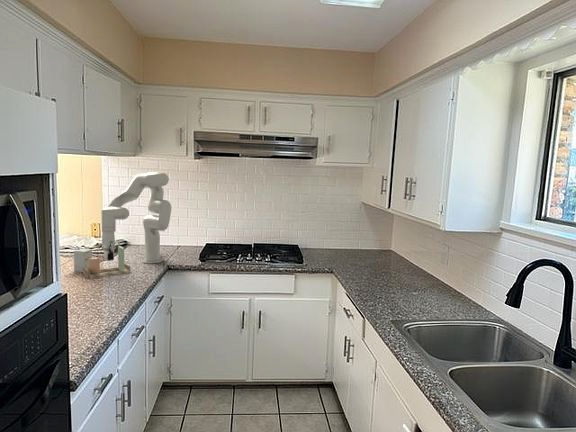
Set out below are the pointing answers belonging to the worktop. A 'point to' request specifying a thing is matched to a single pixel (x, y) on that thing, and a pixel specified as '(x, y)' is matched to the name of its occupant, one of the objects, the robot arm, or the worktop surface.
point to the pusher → (121, 258)
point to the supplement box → (81, 259)
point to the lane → (87, 272)
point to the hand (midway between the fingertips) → (109, 258)
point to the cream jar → (106, 254)
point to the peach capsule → (94, 265)
